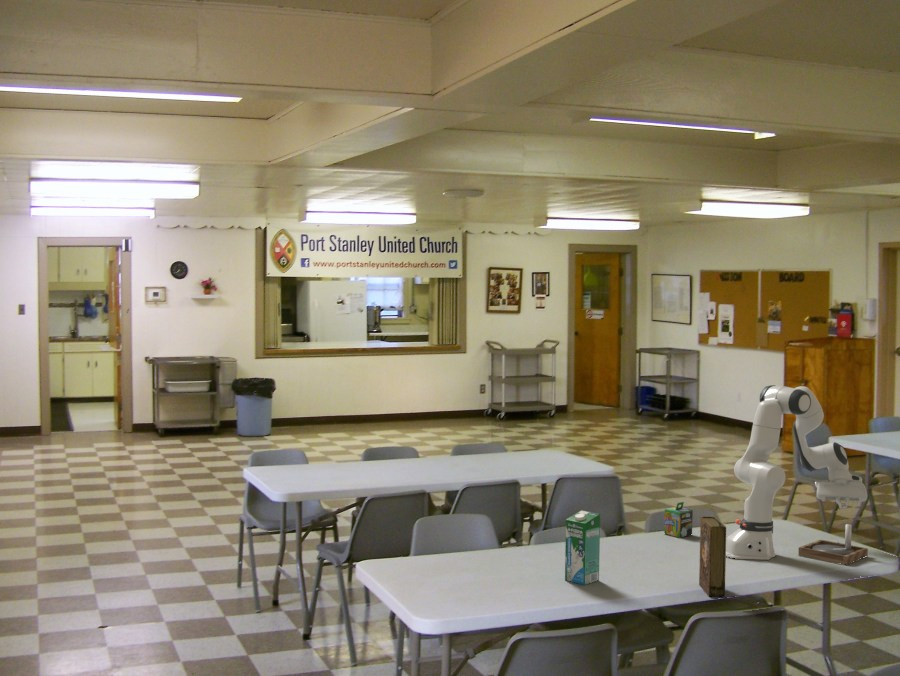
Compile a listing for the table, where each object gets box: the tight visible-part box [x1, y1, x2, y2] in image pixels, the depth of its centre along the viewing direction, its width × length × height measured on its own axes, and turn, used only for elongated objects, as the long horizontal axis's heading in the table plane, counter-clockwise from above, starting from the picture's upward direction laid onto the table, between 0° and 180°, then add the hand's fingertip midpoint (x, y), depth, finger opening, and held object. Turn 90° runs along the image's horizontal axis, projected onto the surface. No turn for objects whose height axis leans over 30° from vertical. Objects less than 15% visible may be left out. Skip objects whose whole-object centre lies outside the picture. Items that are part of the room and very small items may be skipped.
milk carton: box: [564, 510, 601, 586], centre depth 363 cm, size 9×9×25 cm
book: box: [698, 516, 727, 597], centre depth 352 cm, size 16×6×25 cm, turn 179°
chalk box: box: [663, 501, 694, 538], centre depth 438 cm, size 9×9×15 cm
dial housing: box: [798, 539, 869, 565], centre depth 403 cm, size 20×20×4 cm
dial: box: [812, 523, 854, 555], centre depth 403 cm, size 16×16×11 cm
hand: (843, 507), depth 416 cm, fingers closed
